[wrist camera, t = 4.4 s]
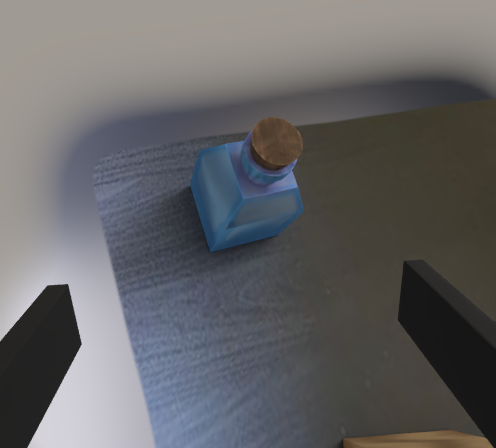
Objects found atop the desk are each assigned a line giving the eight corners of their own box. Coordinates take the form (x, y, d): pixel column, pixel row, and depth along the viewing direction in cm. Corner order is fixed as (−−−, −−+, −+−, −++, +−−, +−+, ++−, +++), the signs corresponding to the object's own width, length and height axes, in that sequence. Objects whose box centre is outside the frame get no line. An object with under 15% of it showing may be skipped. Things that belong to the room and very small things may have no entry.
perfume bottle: (190, 185, 34) (212, 101, 23) (255, 172, 36) (305, 90, 25) (210, 252, 32) (244, 199, 21) (277, 235, 34) (340, 178, 23)
